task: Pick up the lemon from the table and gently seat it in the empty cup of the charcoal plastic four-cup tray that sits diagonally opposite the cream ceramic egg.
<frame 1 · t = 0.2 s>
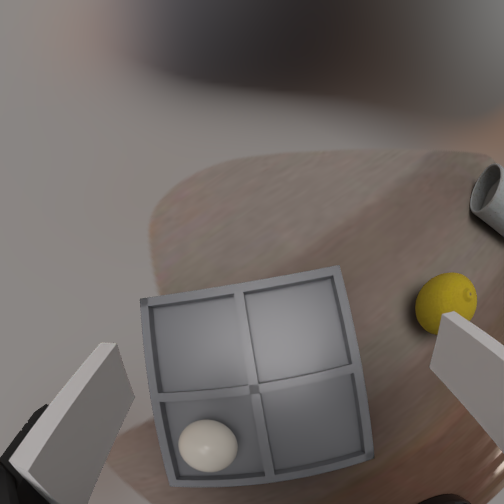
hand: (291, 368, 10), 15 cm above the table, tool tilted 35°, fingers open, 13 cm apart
ceramic mug: (487, 209, 28), on the table
cup tray: (255, 386, 23), on the table
lemon: (423, 312, 24), on the table
cream egg: (213, 438, 21), point 1 cm above the table, touching cup tray
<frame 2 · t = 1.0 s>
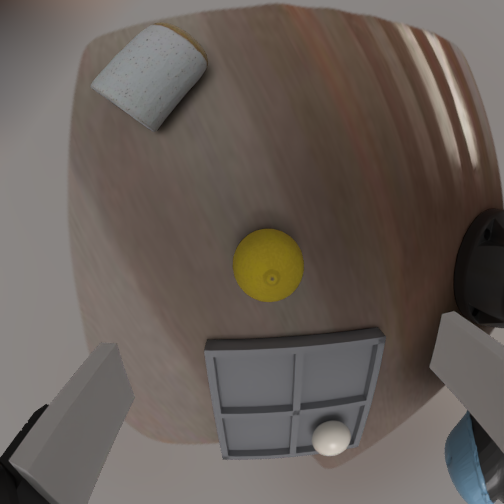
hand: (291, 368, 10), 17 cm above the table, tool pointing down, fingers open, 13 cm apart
ceramic mug: (152, 85, 23), on the table
cup tray: (293, 400, 30), on the table
lemon: (265, 253, 26), on the table
cream egg: (327, 425, 30), point 1 cm above the table, touching cup tray
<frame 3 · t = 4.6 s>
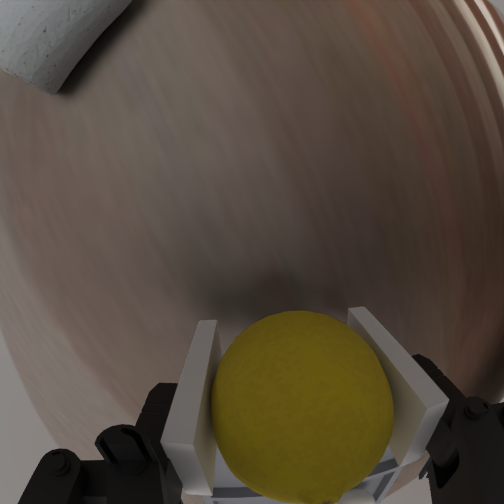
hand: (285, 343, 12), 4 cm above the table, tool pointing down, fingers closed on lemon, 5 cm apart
ceramic mug: (68, 34, 11), on the table
cup tray: (305, 474, 19), on the table
lemon: (283, 337, 12), point 3 cm above the table, touching gripper
cream egg: (346, 491, 19), point 1 cm above the table, touching cup tray
when the fingers open (2 cm above the table, at t = 8.6 s): lemon stays where it is, resting on cup tray.
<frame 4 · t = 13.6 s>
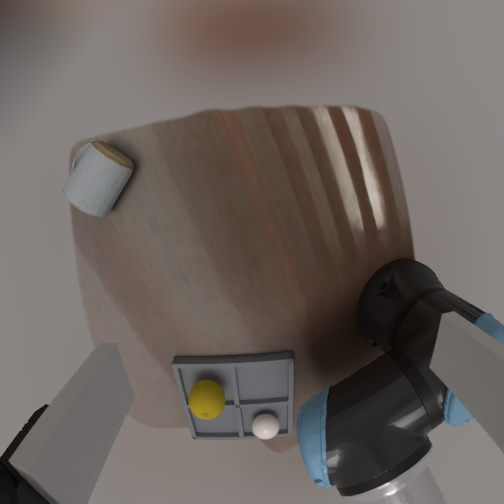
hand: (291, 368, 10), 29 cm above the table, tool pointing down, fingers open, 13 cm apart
ceramic mug: (104, 175, 36), on the table
cup tray: (237, 398, 43), on the table
lemon: (209, 382, 42), point 1 cm above the table, touching cup tray
cream egg: (264, 417, 43), point 1 cm above the table, touching cup tray
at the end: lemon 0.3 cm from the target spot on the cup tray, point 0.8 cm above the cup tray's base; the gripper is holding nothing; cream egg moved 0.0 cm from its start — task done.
